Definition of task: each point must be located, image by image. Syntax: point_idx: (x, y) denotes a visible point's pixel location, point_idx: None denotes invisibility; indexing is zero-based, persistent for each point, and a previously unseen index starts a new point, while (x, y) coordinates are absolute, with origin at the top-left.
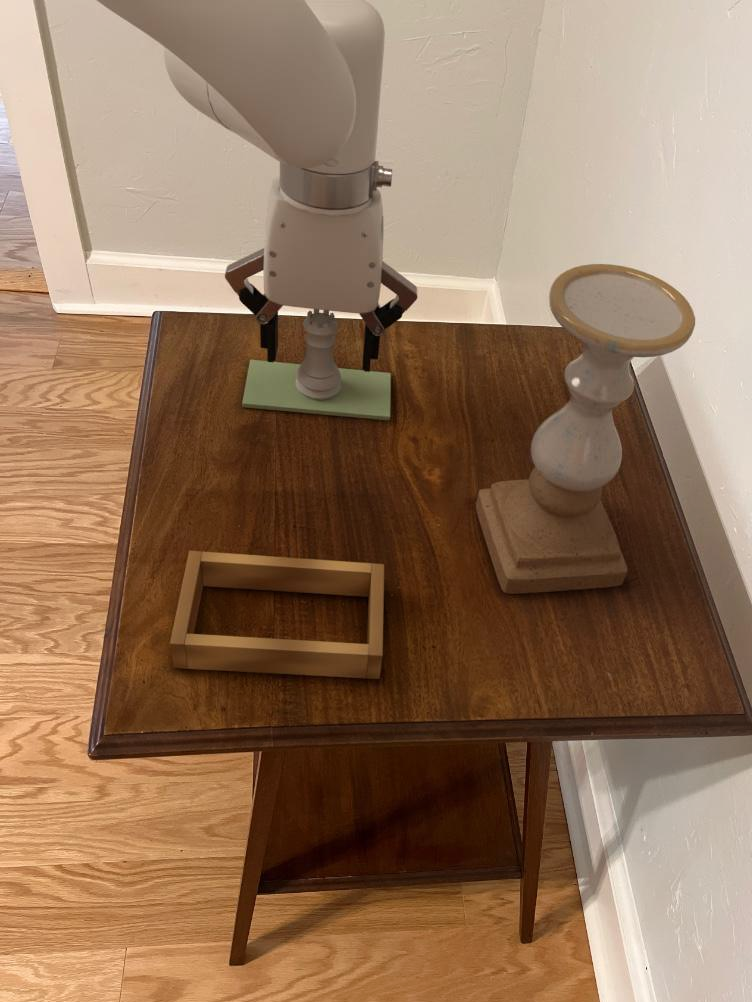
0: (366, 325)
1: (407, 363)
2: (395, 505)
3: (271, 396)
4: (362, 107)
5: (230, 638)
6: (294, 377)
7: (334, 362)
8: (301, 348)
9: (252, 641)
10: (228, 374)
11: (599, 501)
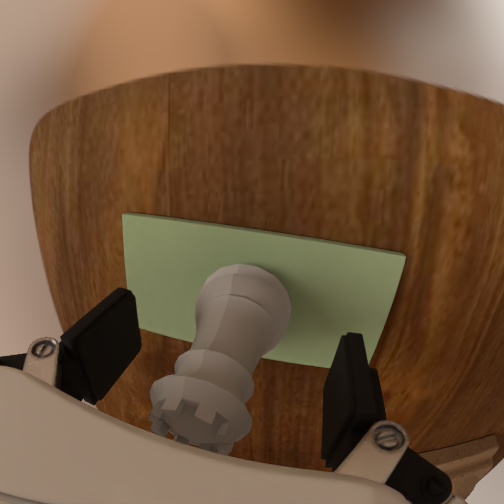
0: (340, 435)
1: (446, 205)
2: (323, 460)
3: (168, 316)
4: None
5: None
6: (200, 270)
7: (267, 339)
8: (217, 149)
9: None
10: (103, 242)
11: (479, 480)
